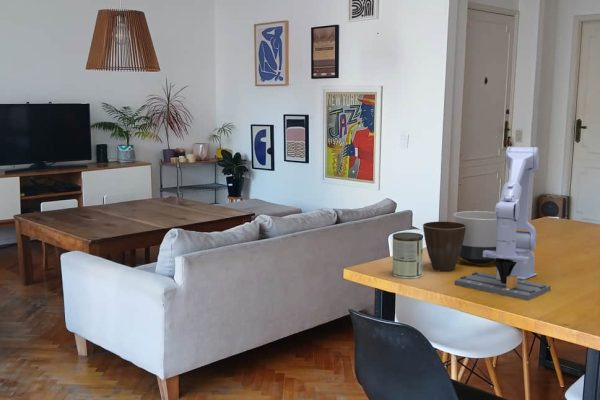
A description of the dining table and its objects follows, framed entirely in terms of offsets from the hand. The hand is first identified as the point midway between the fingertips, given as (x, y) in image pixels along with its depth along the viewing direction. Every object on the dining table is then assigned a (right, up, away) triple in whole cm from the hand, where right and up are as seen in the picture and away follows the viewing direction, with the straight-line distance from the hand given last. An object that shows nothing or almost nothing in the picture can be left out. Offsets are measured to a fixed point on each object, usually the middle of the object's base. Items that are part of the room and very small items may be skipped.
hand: (504, 282), depth 196 cm
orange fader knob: (+2, -1, -2) cm, 3 cm away
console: (+1, -2, +5) cm, 5 cm away
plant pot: (-12, +1, +30) cm, 32 cm away
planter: (+3, +3, +40) cm, 41 cm away
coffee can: (-27, 0, +21) cm, 34 cm away
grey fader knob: (+2, 0, +8) cm, 9 cm away
